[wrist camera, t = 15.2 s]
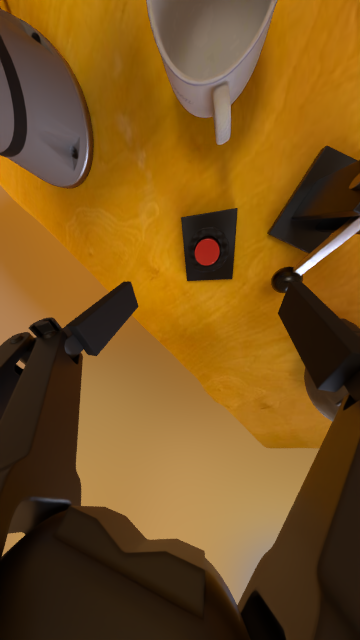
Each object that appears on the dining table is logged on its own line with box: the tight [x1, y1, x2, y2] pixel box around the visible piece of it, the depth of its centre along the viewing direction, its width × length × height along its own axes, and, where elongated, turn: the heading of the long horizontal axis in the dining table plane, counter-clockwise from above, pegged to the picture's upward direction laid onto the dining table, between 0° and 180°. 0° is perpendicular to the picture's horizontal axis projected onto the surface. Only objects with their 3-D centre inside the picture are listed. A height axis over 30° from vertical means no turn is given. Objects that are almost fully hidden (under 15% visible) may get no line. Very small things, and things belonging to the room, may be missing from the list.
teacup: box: [146, 0, 277, 145], centre depth 14 cm, size 14×11×8 cm
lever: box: [271, 216, 360, 293], centre depth 16 cm, size 13×4×4 cm, turn 158°
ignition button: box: [195, 238, 220, 266], centre depth 24 cm, size 4×4×2 cm
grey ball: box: [304, 367, 349, 421], centre depth 28 cm, size 14×14×15 cm
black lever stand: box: [267, 146, 360, 254], centre depth 16 cm, size 10×8×14 cm
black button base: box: [181, 208, 237, 281], centre depth 26 cm, size 11×9×4 cm
